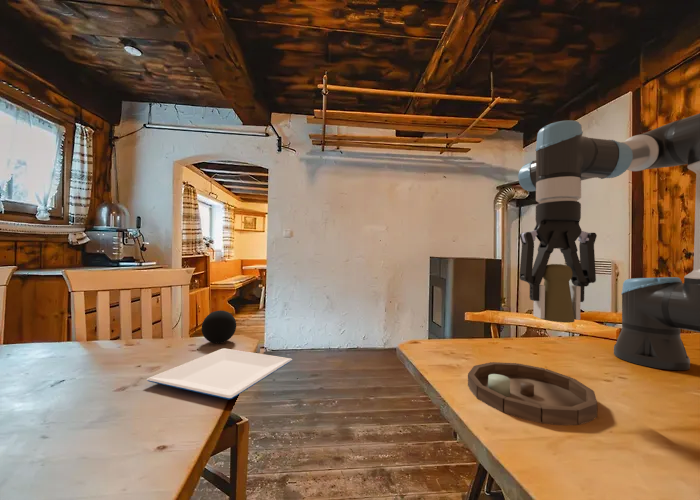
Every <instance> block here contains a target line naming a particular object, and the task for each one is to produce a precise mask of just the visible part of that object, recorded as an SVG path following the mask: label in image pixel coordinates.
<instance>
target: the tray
mask: <svg viewBox="0 0 700 500" xmlns="http://www.w3.org/2000/svg"><path fill="white" fill-rule="evenodd" d="M490 374H499V375H504V376H506V377H508V378H509V379H510V396H509V397H506V396H504V395H502V394H499V393H497V392H495V391H493V390H491V389H489V388H488V375H490ZM467 386H468V388H469V390H470V392H471V393H472V395H473V396H474V397H475V398H476V399H477V400H479V401H481V402H482V403H484V404H485V405H487V406H489V407H490V408H492V409H494V410H497V411H498V412H502V413H504V414H507V415H509V416H512V417H516V418H519V419H522V420H526V421H530V422H536V423H540V424H546V425H554V426H555V425H556V426H579V425H585V424H586V423H590V422H592V421H594V420H595V419H597V417H598V399H597V397H596V396H597V395H596V393H595V391H594V390H593V389H592V388H590V387H589V386H587V385H585V384H583V383H582V382H581V381H579V380H577V379H576V378H573V377H571V376H569V375H565V374H563V373H559V372H557V371H553V370H551V369H549V368H543V367H539V366H535V365H529V364H523V363H517V362H500V361H499V362H496V361H495V362H494V361H493V362H491V361H490V362H486V363H481V364H475V365H473V366H472V367H471V369H470V370H469V372H468V373H467Z"/></svg>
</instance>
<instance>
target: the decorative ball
mask: <svg viewBox="0 0 700 500" xmlns="http://www.w3.org/2000/svg"><path fill="white" fill-rule="evenodd" d="M236 330H237V321H236V319H235V316H233V314H231V312H229V311H227V310H215V311H212V312H210V313H209V314H208V315H206V316H205V318H204V319H203V321H202V324H201V333H202V335H203V337H204V339H205V340H207V341H208V342H210V343H213V344H223V343H225V342H227V341H229V340H230V339H231V338H232V337H233V336H234V335H235V332H236Z"/></svg>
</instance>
